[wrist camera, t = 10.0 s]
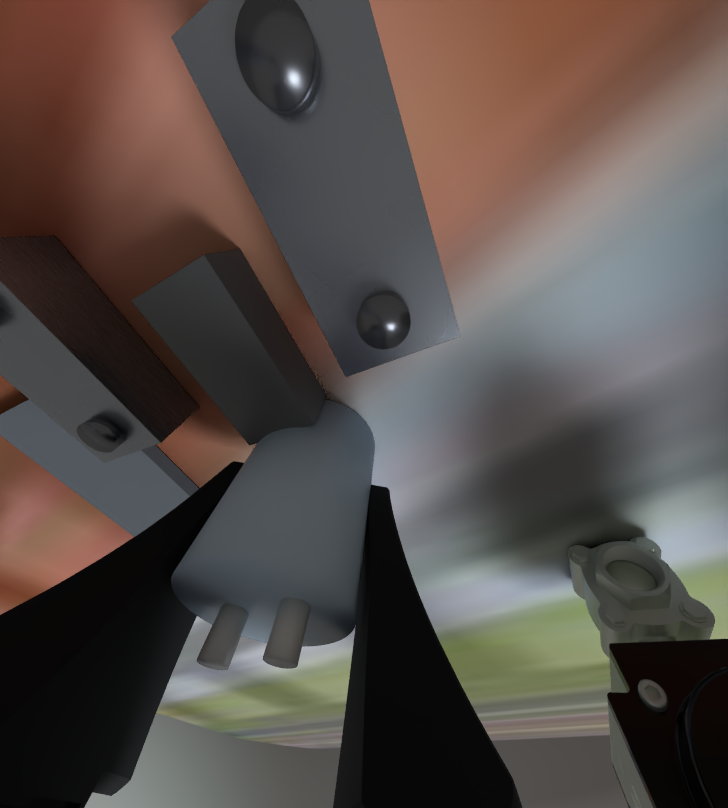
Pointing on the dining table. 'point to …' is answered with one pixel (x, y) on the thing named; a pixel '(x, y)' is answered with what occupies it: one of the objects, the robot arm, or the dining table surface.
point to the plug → (267, 472)
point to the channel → (281, 208)
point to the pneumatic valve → (658, 676)
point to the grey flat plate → (100, 470)
